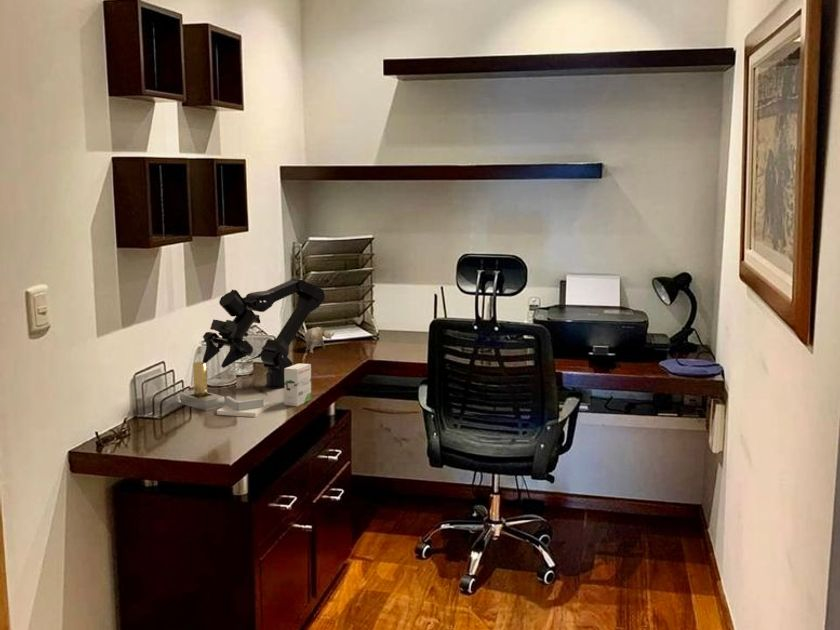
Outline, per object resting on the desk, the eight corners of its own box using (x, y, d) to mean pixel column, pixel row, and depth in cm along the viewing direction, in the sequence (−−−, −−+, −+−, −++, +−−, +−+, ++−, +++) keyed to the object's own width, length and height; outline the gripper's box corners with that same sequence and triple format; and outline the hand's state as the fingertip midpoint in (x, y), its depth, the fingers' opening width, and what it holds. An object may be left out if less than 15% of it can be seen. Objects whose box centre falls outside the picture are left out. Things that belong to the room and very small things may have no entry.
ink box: (298, 398, 267) (298, 362, 265) (312, 400, 265) (311, 363, 263) (283, 404, 259) (283, 367, 258) (297, 406, 257) (297, 369, 256)
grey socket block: (177, 402, 260) (177, 393, 259) (196, 398, 265) (196, 389, 265) (205, 410, 251) (205, 401, 251) (224, 406, 257) (224, 396, 256)
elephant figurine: (293, 346, 338) (306, 314, 343) (306, 360, 349) (319, 329, 355) (309, 350, 335) (323, 317, 340) (322, 364, 346) (335, 332, 352)
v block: (232, 404, 259) (231, 392, 258) (269, 406, 257) (269, 394, 257) (216, 414, 247) (216, 402, 247) (255, 416, 245) (255, 404, 245)
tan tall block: (204, 402, 261) (203, 361, 259) (210, 404, 258) (208, 363, 256) (192, 404, 258) (190, 363, 256) (197, 406, 255) (196, 365, 253)
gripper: (207, 306, 267) (178, 345, 261) (245, 313, 256) (216, 353, 249) (227, 328, 275) (200, 366, 268) (265, 335, 263) (237, 375, 256)
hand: (212, 364), depth 260 cm, fingers open, 9 cm apart
